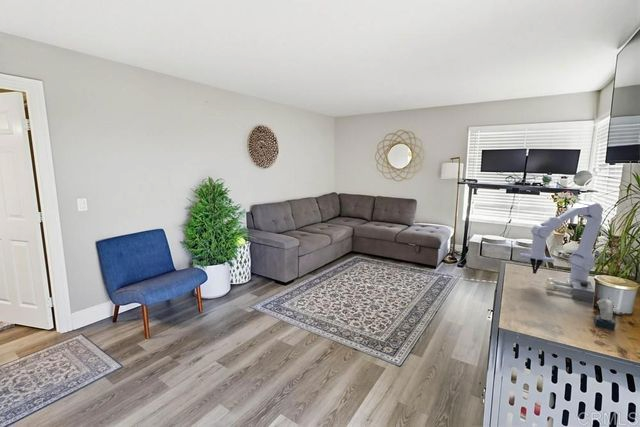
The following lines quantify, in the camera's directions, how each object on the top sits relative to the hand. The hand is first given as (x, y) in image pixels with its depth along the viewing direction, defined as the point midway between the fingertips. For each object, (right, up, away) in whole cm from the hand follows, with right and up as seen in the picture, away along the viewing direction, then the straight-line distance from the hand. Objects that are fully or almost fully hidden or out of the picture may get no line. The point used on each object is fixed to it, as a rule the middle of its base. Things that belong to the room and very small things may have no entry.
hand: (534, 272), depth 164 cm
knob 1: (+6, -7, -11) cm, 14 cm away
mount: (+14, -9, -12) cm, 20 cm away
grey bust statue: (0, -14, -40) cm, 43 cm away
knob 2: (+9, -6, -5) cm, 13 cm away
